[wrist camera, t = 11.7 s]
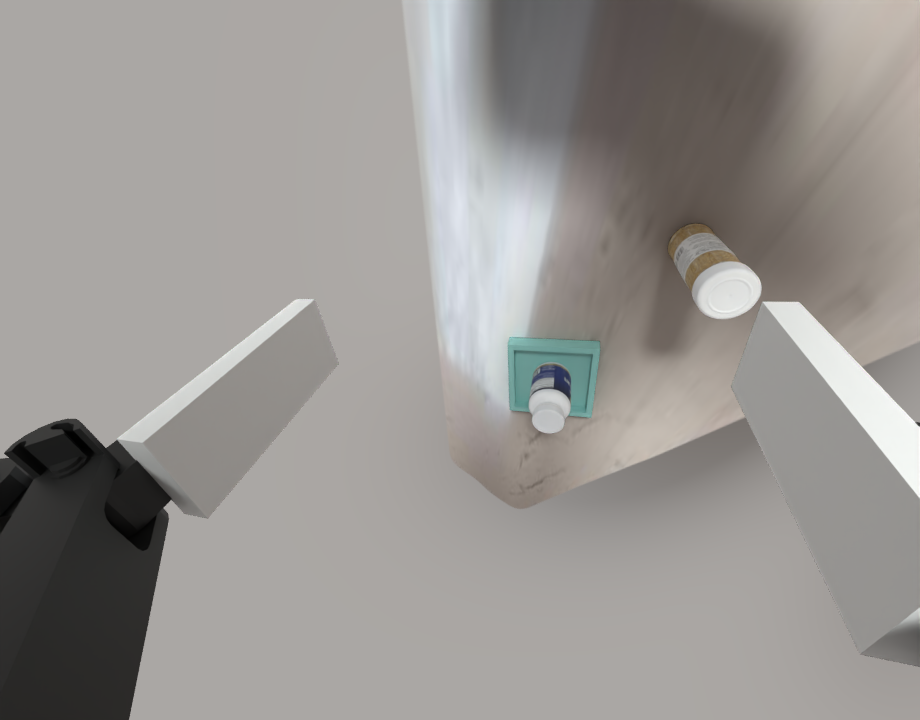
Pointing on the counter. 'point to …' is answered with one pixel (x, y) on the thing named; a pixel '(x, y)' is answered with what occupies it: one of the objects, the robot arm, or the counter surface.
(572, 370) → the tray
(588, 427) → the counter surface
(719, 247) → the sprinkles bottle
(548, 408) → the pill bottle
